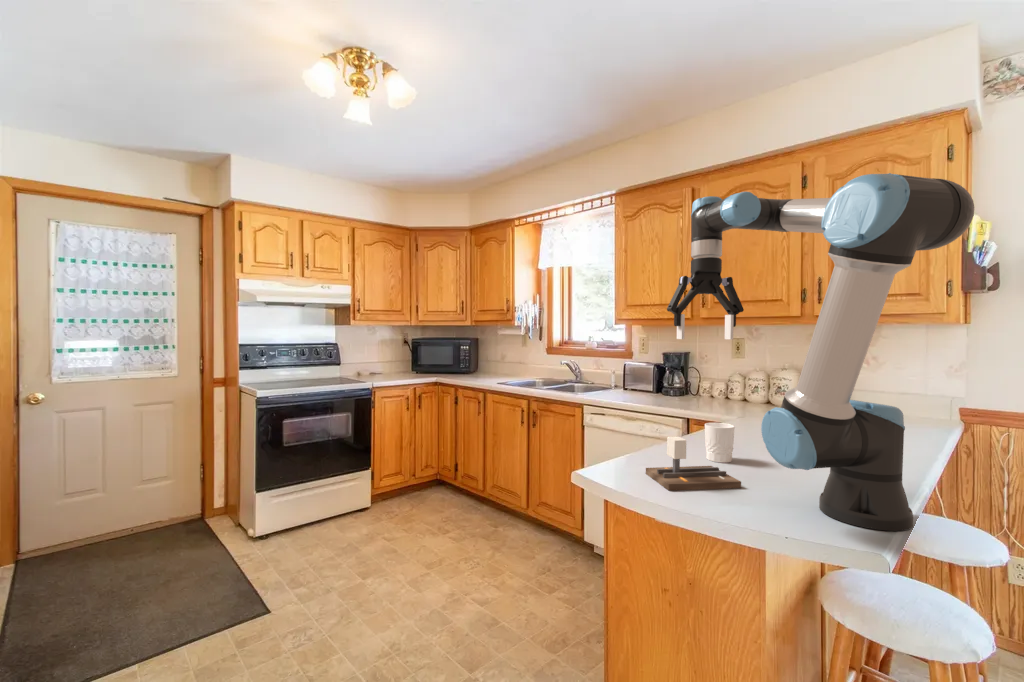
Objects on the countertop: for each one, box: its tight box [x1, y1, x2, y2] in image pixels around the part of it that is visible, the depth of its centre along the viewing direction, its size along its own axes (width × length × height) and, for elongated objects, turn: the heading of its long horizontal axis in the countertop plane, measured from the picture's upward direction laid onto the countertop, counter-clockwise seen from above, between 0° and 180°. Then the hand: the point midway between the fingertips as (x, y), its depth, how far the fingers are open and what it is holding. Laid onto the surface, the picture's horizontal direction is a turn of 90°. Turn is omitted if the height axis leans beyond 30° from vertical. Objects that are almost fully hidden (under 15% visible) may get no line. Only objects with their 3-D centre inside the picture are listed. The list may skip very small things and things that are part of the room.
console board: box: [645, 465, 742, 492], centre depth 117 cm, size 13×18×2 cm
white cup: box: [704, 422, 736, 464], centre depth 136 cm, size 8×8×10 cm
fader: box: [666, 436, 687, 473], centre depth 117 cm, size 4×3×8 cm
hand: (704, 339), depth 125 cm, fingers open, 13 cm apart
